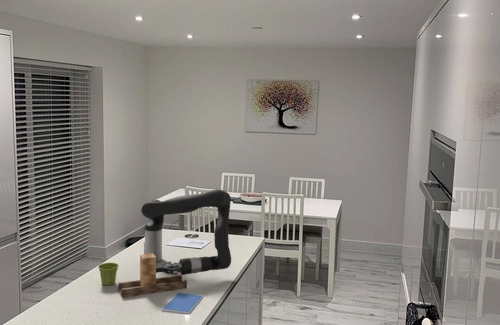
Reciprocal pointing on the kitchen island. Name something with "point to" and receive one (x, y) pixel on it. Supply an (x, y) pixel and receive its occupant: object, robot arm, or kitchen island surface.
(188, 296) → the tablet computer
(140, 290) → the chute
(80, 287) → the kitchen island surface
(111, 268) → the plant pot
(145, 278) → the block
